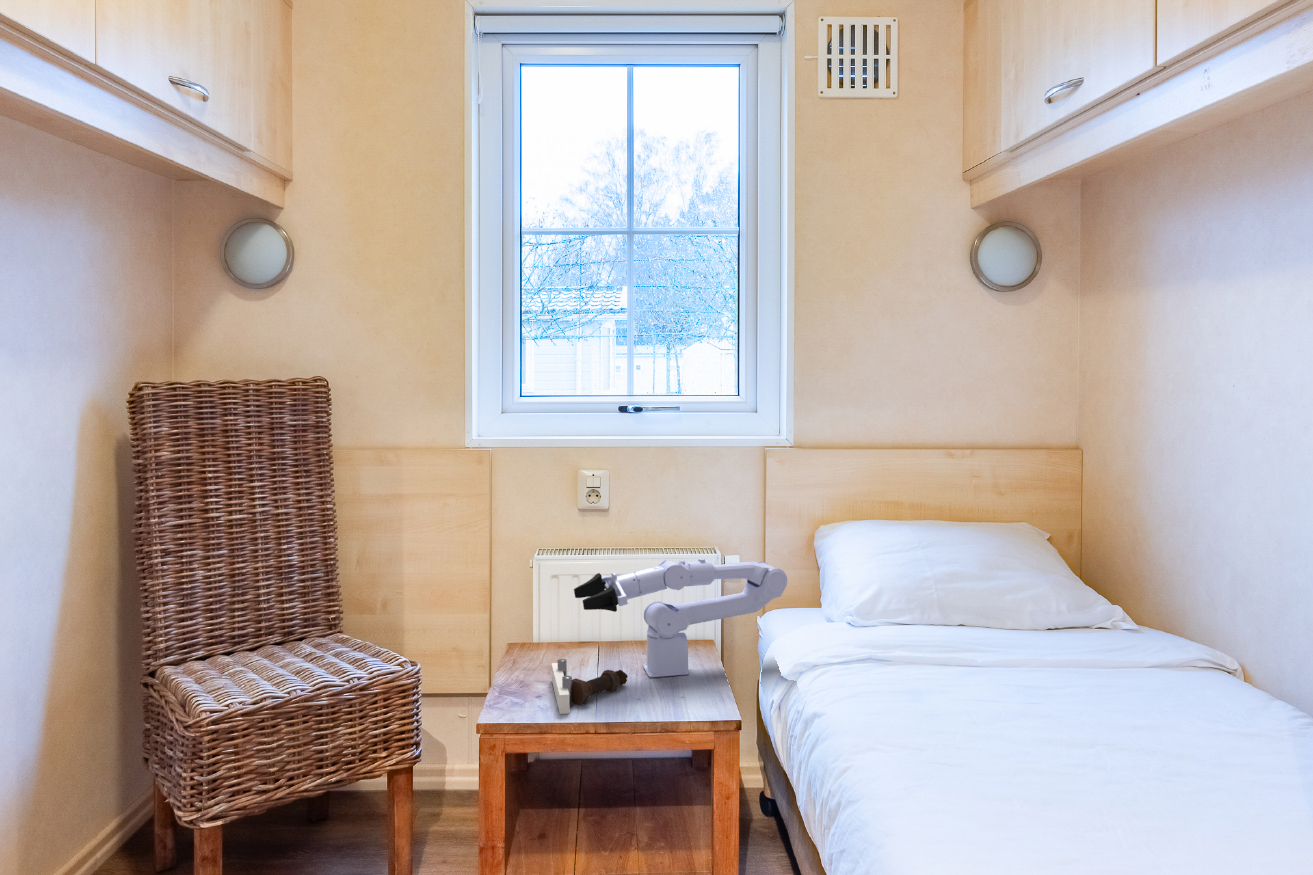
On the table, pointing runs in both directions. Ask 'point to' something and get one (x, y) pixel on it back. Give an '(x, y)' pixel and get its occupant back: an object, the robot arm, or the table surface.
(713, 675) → the table surface
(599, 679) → the bolt
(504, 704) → the table surface
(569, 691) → the bar
